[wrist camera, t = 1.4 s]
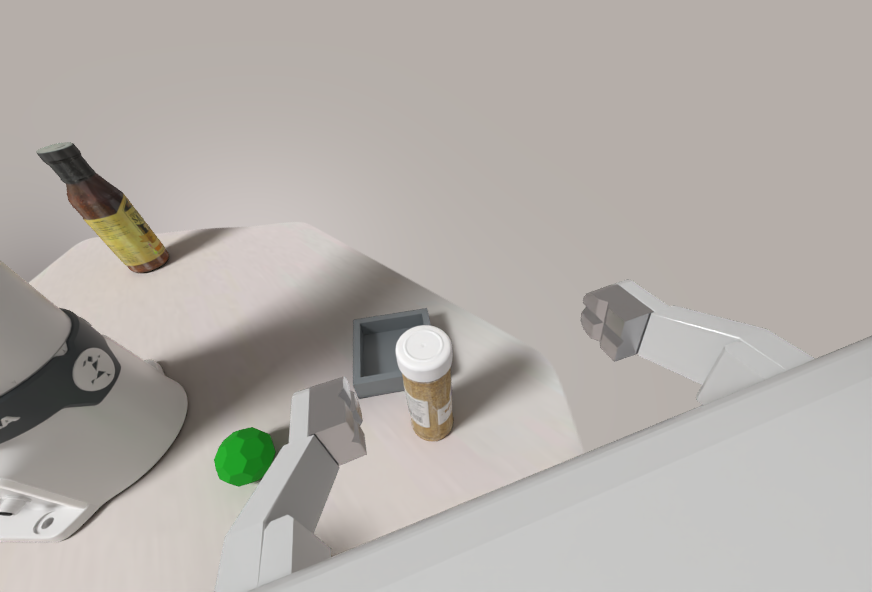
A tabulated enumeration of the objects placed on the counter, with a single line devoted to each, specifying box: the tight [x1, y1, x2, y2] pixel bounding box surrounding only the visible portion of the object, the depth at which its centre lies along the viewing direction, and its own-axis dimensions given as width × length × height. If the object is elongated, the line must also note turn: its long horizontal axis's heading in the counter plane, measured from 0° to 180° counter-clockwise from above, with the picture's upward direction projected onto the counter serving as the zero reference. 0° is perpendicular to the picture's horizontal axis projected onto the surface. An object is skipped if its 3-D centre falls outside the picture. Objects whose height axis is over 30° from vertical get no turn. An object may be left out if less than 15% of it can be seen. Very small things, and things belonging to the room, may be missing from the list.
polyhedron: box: [214, 427, 275, 486], centre depth 31 cm, size 5×5×5 cm
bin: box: [353, 308, 431, 399], centre depth 40 cm, size 10×10×3 cm
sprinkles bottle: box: [396, 325, 453, 441], centre depth 31 cm, size 5×5×13 cm
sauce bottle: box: [37, 142, 169, 273], centre depth 51 cm, size 6×6×20 cm
